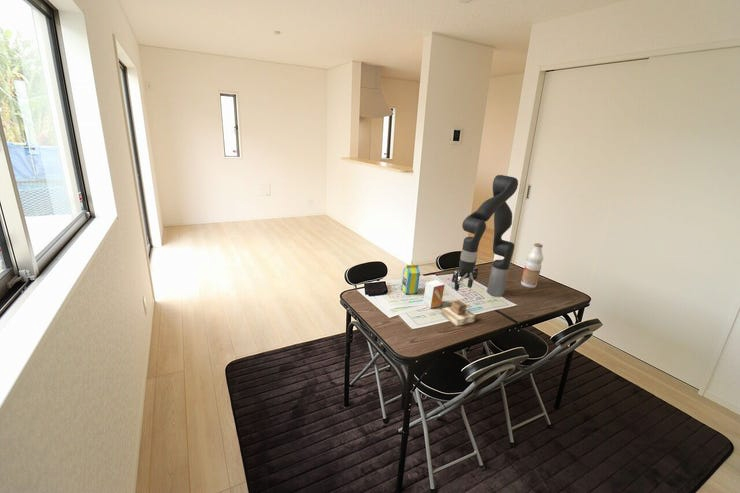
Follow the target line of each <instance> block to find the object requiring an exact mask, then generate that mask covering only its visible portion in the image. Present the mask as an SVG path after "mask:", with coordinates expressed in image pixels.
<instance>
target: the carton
mask: <svg viewBox="0 0 740 493" xmlns="http://www.w3.org/2000/svg"><path fill="white" fill-rule="evenodd" d="M420 275H421V272H420V269H419V264H413V260H410V264H406V267H404V268H403V272H402V280H401V288H400V289H401V291H402V292H403V294H404V295H407V296H408V295H418V290H419V284H420V283H419V282H420Z"/></svg>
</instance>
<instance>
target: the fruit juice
mask: <svg viewBox="0 0 740 493" xmlns="http://www.w3.org/2000/svg"><path fill="white" fill-rule="evenodd" d="M543 246H544V244H541V243H538V242H537V243H536V242H535V243H533V248H532V250H531V251H530V252H529V253H528V254H527V257H526V258H527V260H526V262H525V264H524V267H523V272H522V277H521V280H520V284H521V285H522V286H523V287H526V288H530V289H534V288H535V289H536V287H537V285H538V282H539V278H540V273H541V269H542V263H543V261H544V255H543V250H542V249H543Z"/></svg>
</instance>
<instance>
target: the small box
mask: <svg viewBox="0 0 740 493" xmlns="http://www.w3.org/2000/svg"><path fill="white" fill-rule="evenodd" d="M444 291H445V283H443V282H442V281H439V280H438V279H436V280H431V281H426V282H425V287H424V292H423V293H424V295H423V300H422V305H424V306H426V307H428V308H429V309H435V308H437V307H441V306H442V303H443V296H444Z"/></svg>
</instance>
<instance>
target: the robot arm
mask: <svg viewBox="0 0 740 493" xmlns="http://www.w3.org/2000/svg"><path fill="white" fill-rule="evenodd" d="M518 186H519V180H518V178H516V177H514V176H510V175H509V176H508V175H503V174H498V175H497V174H496V176H495V177H494V179H493V181H492V196H493V197H490V198H488V199H486V200H485V201H483V202H482V203H481V205H480V206H479V207H478V208H477V210H475V211H473V212H472V213H471V214H469V215H468V216H466V217H465V219H464V220H463V221H462V229H463V231H465V232H467V233H470V234H473V236H467V237H464V238H463V243H462V250H461V252H460V258H459V263H458V267H459V269H458V270H453V274H452V278H451V282H452V283H453V284H454V287H453V289H454V290H455V291H456V292H458V291H459V289H460V284H461V283H462V282H463V280H465V279H468V281H467V286H466V287H467V288H469V289H471V288H472V287H473V284H474V283H473V282H474V281H476V280H477V279H478V273H479V268H477V267H476V263H477V258H478V250H479V245H480V242H481V240H482V237H483V235H484V233H485V232H486V229H487V224H486V222H488V221H489V220H490V218H491V217H492V216H493V243H492V251H493V254H494V255H497V256H499V257H503V259H495V260H492V265H491V270H490V274H489V277H488V278H489V279H488V284H487V288H486V294H488V295H490V296H493V297H499V298H501V297H503V296H504V294H505V289H506V286H507V281H508V280H507V278H508V274H509V268H510V265H511V261H512V258H513V255H514V251H515V243H514V242H512V241H507V240H504V239H502V237H503V235H504V234H505V233H506V232H507V231H508V230H509V229H510V228H511V226H512V224H513V212H512V210H511V208H510V206H509V204H508V203H507V201H508V200H509V199H510V198H511V197H512V196H513V195H514V194H515V193H516V191H517V189H518Z"/></svg>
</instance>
